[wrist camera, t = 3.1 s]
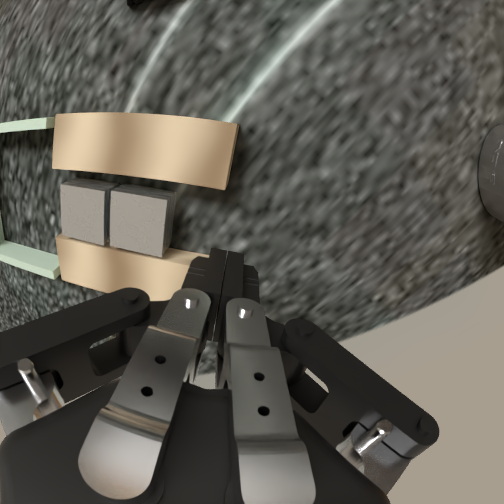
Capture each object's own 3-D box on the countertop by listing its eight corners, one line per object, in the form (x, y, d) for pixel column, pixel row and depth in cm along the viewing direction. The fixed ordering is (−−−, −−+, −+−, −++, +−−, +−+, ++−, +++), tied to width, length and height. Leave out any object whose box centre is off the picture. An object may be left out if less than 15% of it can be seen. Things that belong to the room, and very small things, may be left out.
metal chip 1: (120, 182, 18) (104, 191, 16) (118, 232, 20) (103, 245, 17) (79, 176, 18) (60, 184, 15) (78, 223, 19) (62, 235, 17)
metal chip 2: (177, 190, 18) (167, 200, 16) (171, 242, 20) (161, 257, 18) (126, 182, 18) (111, 190, 16) (124, 232, 20) (110, 245, 17)
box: (66, 116, 15) (46, 117, 13) (68, 265, 21) (54, 279, 19) (-5, 124, 14) (-23, 127, 12) (2, 245, 20) (-12, 255, 18)
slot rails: (239, 124, 16) (237, 123, 14) (209, 300, 22) (205, 315, 20) (71, 113, 15) (55, 114, 13) (73, 268, 21) (62, 279, 19)
